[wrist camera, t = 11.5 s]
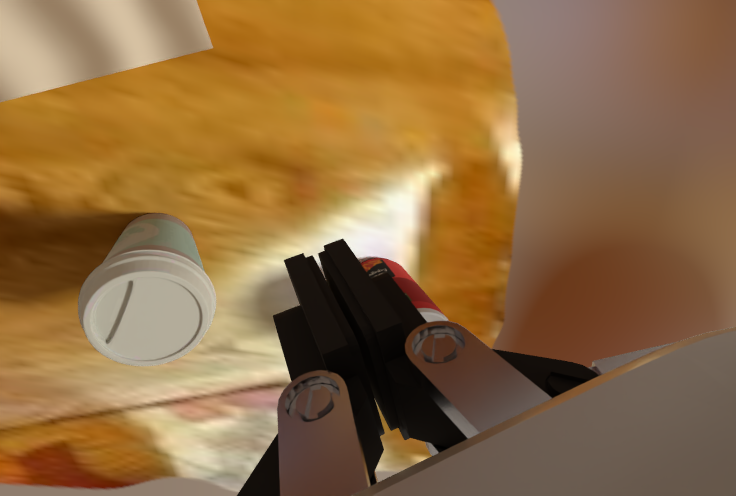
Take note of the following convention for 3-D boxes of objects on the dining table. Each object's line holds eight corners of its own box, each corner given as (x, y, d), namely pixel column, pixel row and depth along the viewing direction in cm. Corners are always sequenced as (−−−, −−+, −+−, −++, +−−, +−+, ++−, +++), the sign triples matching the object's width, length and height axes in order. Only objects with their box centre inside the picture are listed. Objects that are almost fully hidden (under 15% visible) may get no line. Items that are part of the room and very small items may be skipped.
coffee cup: (165, 178, 37) (158, 237, 27) (229, 250, 42) (243, 324, 32) (77, 235, 37) (36, 317, 27) (151, 302, 41) (140, 393, 31)
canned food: (370, 243, 47) (416, 298, 38) (419, 276, 51) (470, 333, 42) (326, 297, 48) (359, 364, 39) (377, 326, 52) (418, 392, 43)
